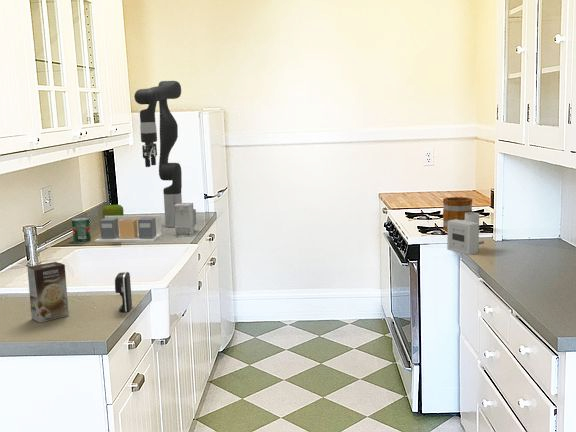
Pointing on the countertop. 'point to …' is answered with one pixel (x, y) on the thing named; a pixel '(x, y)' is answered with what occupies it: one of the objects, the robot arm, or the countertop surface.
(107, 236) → the block
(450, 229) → the thermostat
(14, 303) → the countertop surface
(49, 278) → the coffee box
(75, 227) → the canned tomato
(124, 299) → the battery charger
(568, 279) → the countertop surface
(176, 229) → the circuit breaker
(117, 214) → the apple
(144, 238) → the rail
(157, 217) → the panel
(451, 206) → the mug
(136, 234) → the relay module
